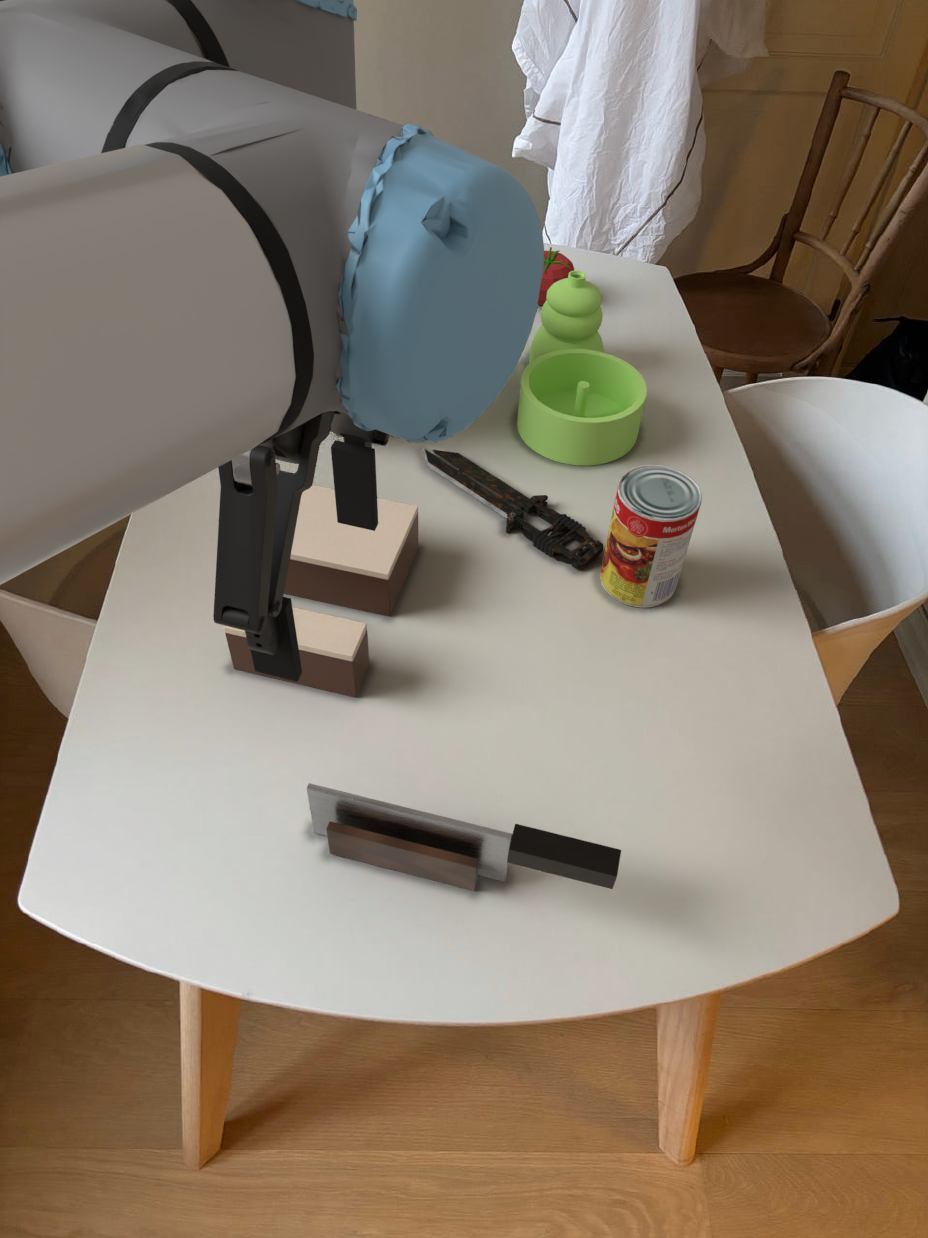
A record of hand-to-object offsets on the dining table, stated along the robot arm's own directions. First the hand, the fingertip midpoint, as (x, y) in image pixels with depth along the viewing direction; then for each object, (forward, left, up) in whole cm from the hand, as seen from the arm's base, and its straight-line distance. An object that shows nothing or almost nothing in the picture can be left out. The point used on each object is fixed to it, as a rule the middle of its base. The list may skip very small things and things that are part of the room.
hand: (321, 592), depth 60 cm
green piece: (+61, -9, -25) cm, 66 cm away
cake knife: (-4, -11, -25) cm, 28 cm away
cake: (+25, +8, -25) cm, 36 cm away
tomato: (+83, -1, -25) cm, 87 cm away
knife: (+39, -5, -25) cm, 47 cm away
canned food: (+32, -21, -25) cm, 46 cm away
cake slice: (+12, +8, -25) cm, 29 cm away
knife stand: (-4, -7, -25) cm, 26 cm away
